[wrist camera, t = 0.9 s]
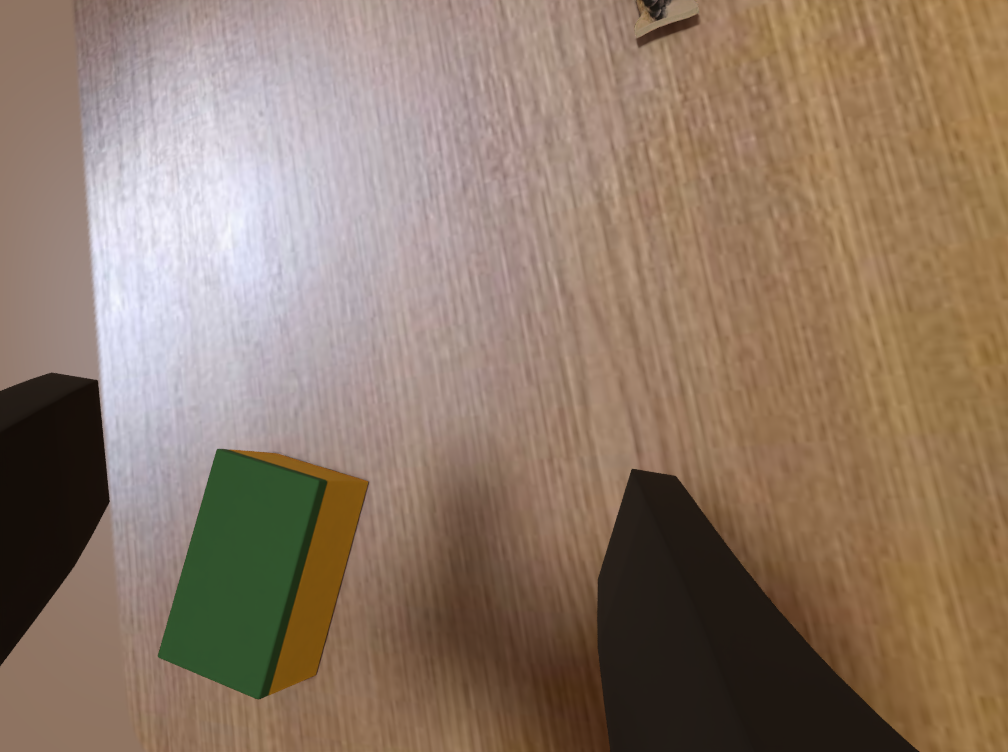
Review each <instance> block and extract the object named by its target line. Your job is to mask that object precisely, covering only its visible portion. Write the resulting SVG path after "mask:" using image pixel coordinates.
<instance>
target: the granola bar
mask: <svg viewBox="0 0 1008 752" xmlns="http://www.w3.org/2000/svg"><path fill="white" fill-rule="evenodd" d="M636 2H637V5H638V9H639V12H640V15H641V16H640V18H639V20H638V21H637V23H636V24H635V27H634V31H635V35H636V38H639V37H641V36H643V35H644V34H646V33H648V32H650V31H651V30H654V29H656V28H658V27H661V26H664V25H666V24H669V23H672V22H676V21H679V20H682V19H686V18H689V17H692V16H694V15H696V14H698V13H699V8H698V3H697V2H696V1H695V0H636Z"/></svg>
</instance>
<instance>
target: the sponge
mask: <svg viewBox="0 0 1008 752" xmlns="http://www.w3.org/2000/svg"><path fill="white" fill-rule="evenodd" d="M367 485H368V481H366V480H362V479H359V478H356V477H352V476H349V475H346V474H342V473H339V472H336V471H333V470H329V469H326V468H323V467H319V466H316V465H313V464H310V463H306V462H303V461H300V460H296V459H293V458H290V457H287V456H283V455H280V454H277V453H267V452H254V451H241V450H227V449H217V451H216V454H215V458H214V461H213V465H212V468H211V472H210V475H209V479H208V482H207V486H206V489H205V493H204V496H203V500H202V503H201V507H200V510H199V514H198V517H197V521H196V524H195V528H194V531H193V535H192V538H191V542H190V545H189V549H188V552H187V556H186V559H185V563H184V566H183V570H182V573H181V577H180V580H179V584H178V587H177V591H176V594H175V597H174V601H173V604H172V608H171V611H170V615H169V618H168V622H167V625H166V629H165V632H164V636H163V639H162V643H161V646H160V650H159V653H158V657H159V658H161V659H163V660H166V661H168V662H170V663H173V664H175V665H177V666H180V667H182V668H185V669H187V670H189V671H192V672H194V673H196V674H199V675H201V676H203V677H206V678H208V679H211V680H213V681H215V682H218V683H220V684H222V685H225V686H227V687H229V688H232V689H234V690H237V691H239V692H241V693H244V694H246V695H248V696H251V697H253V698H255V699H261V698H264V697H266V696H268V695H271V694H274V693H276V692H278V691H280V690H283V689H285V688H287V687H290V686H292V685H294V684H297V683H299V682H301V681H303V680H306V679H308V678H310V677H313V676H315V675H316V672H317V669H318V665H319V661H320V658H321V654H322V650H323V647H324V643H325V639H326V636H327V632H328V628H329V625H330V621H331V617H332V614H333V610H334V606H335V603H336V599H337V595H338V592H339V588H340V584H341V581H342V577H343V573H344V570H345V566H346V562H347V558H348V555H349V551H350V547H351V544H352V540H353V536H354V533H355V529H356V525H357V522H358V518H359V514H360V511H361V507H362V503H363V500H364V496H365V492H366V489H367Z"/></svg>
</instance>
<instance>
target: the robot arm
mask: <svg viewBox="0 0 1008 752" xmlns="http://www.w3.org/2000/svg"><path fill="white" fill-rule="evenodd" d="M109 502H110V500H109V490H108V480H107V470H106V459H105V449H104V439H103V428H102V418H101V408H100V398H99V387H98V380H93V379H87V378H81V377H75V376H69V375H63V374H57V373H49V374H46V375H42V376H40V377H36V378H33V379H30V380H28V381H25V382H23V383H20V384H17V385H14V386H12V387H9V388H7V389H4V390H2V391H0V666H1V664H2V663H3V662H4V660H5V659H6V658H7V656H8V655H9V654H10V653H11V651H12V650H13V648H14V647H15V646H16V644H17V643H18V642H19V641H20V639H21V638H22V637H23V635H24V634H25V633H26V631H27V630H28V629H29V627H30V626H31V625H32V623H33V622H34V621H35V619H36V618H37V617H38V615H39V614H40V613H41V611H42V610H43V608H44V607H45V606H46V604H47V603H48V602H49V600H50V599H51V598H52V596H53V595H54V594H55V592H56V591H57V589H58V588H59V587H60V585H61V584H62V583H63V581H64V580H65V578H66V577H67V576H68V574H69V573H70V572H71V570H72V568H73V567H74V566H75V564H76V563H77V561H78V559H79V557H80V556H81V554H82V552H83V550H84V549H85V547H86V545H87V543H88V542H89V540H90V538H91V536H92V534H93V533H94V531H95V529H96V527H97V525H98V523H99V521H100V519H101V517H102V515H103V513H104V512H105V510H106V508H107V506H108V504H109ZM597 623H598V654H599V663H600V672H601V680H602V688H603V696H604V705H605V713H606V720H607V728H608V736H609V744H610V752H919V751H918V750H917V749H915V748H914V747H913V746H912V745H911V744H910V743H909V742H907V741H906V740H905V739H904V738H903V737H902V736H901V735H900V734H899V733H898V732H896V731H895V730H894V729H893V728H892V727H891V726H890V725H889V724H888V723H887V722H885V721H884V720H883V719H882V718H881V717H880V716H879V715H878V714H877V713H876V712H875V711H874V710H873V709H872V708H871V707H870V706H869V705H868V704H867V703H866V702H865V701H864V700H863V699H862V698H861V697H860V696H859V695H858V694H857V693H856V692H855V691H854V690H853V689H852V688H851V687H850V686H848V685H847V684H846V683H845V682H844V681H843V680H842V679H841V678H840V677H839V676H838V675H837V674H836V673H835V672H834V671H833V670H832V669H831V668H830V666H829V665H828V664H827V663H826V662H825V661H824V660H823V659H822V658H821V657H820V656H819V655H818V654H817V653H816V652H815V651H814V650H813V648H812V647H811V646H810V645H809V644H808V643H807V642H806V641H805V639H804V638H803V637H802V636H801V635H800V634H799V633H798V631H797V630H796V629H795V628H794V627H793V626H792V625H791V624H790V622H789V621H788V620H787V619H786V618H785V617H784V616H783V614H782V613H781V612H780V611H779V610H778V609H777V607H776V606H775V605H774V604H773V603H772V601H771V600H770V599H769V598H768V597H767V595H766V594H765V593H764V592H763V591H762V589H761V588H760V587H759V586H758V584H757V583H756V582H755V581H754V579H753V578H752V577H751V576H750V574H749V573H748V572H747V571H746V569H745V568H744V567H743V565H742V564H741V563H740V562H739V560H738V559H737V558H736V556H735V555H734V554H733V552H732V551H731V550H730V548H729V547H728V546H727V545H726V543H725V542H724V541H723V539H722V538H721V536H720V535H719V534H718V532H717V531H716V530H715V528H714V527H713V526H712V524H711V523H710V522H709V520H708V519H707V517H706V516H705V515H704V513H703V512H702V511H701V509H700V508H699V506H698V505H697V504H696V502H695V501H694V500H693V498H692V497H691V495H690V494H689V493H688V491H687V490H686V489H685V487H684V486H683V485H682V483H681V482H680V481H679V479H678V478H677V477H676V476H673V475H667V474H661V473H655V472H649V471H643V470H637V469H632V470H631V473H630V476H629V480H628V483H627V486H626V489H625V493H624V496H623V499H622V502H621V506H620V509H619V512H618V515H617V519H616V522H615V525H614V528H613V532H612V535H611V538H610V541H609V545H608V548H607V551H606V555H605V558H604V561H603V564H602V568H601V571H600V574H599V577H598V611H597Z"/></svg>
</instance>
